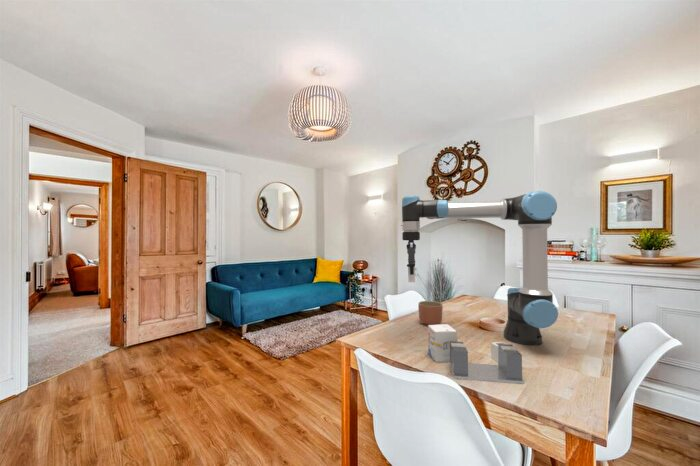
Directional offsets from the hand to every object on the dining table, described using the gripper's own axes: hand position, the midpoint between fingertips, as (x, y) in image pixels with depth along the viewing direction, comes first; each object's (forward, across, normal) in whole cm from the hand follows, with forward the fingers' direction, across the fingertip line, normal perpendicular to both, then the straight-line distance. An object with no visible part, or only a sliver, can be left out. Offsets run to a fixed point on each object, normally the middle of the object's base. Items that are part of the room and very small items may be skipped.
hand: (411, 279), depth 128 cm
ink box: (+28, +13, +11) cm, 33 cm away
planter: (+28, -29, +10) cm, 42 cm away
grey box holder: (+28, +24, +24) cm, 44 cm away
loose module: (+28, +13, +33) cm, 45 cm away
